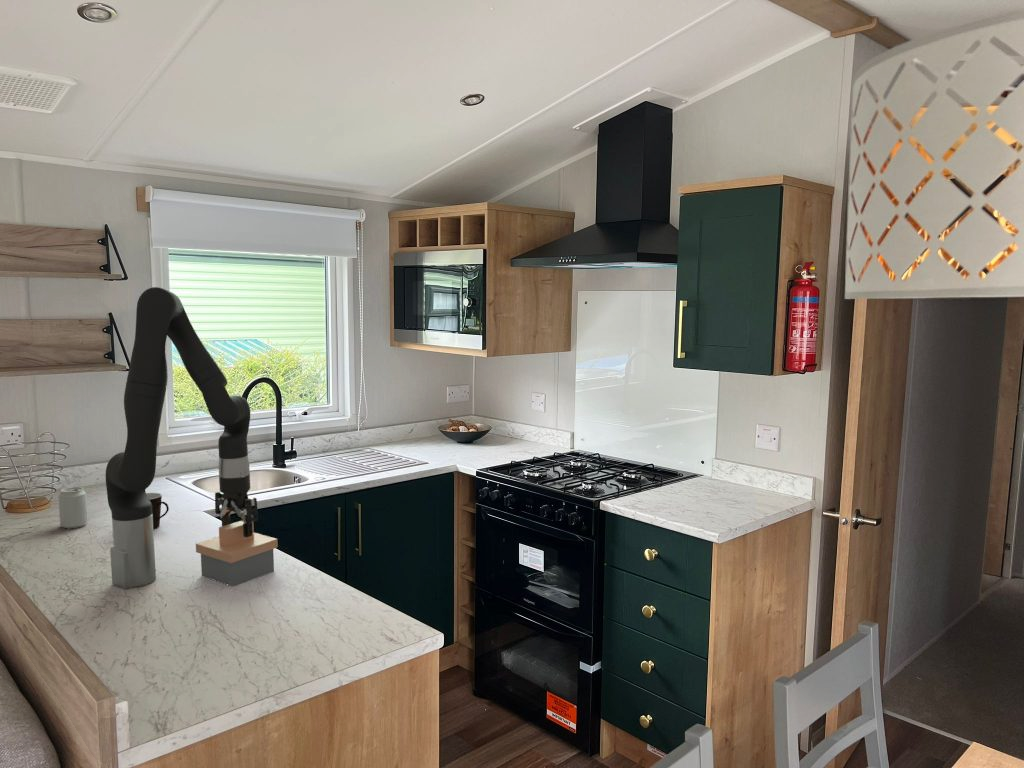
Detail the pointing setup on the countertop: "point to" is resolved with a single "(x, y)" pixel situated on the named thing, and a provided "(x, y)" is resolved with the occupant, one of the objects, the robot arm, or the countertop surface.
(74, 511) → the can
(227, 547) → the lid
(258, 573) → the storage box
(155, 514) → the coffee mug
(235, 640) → the countertop surface
